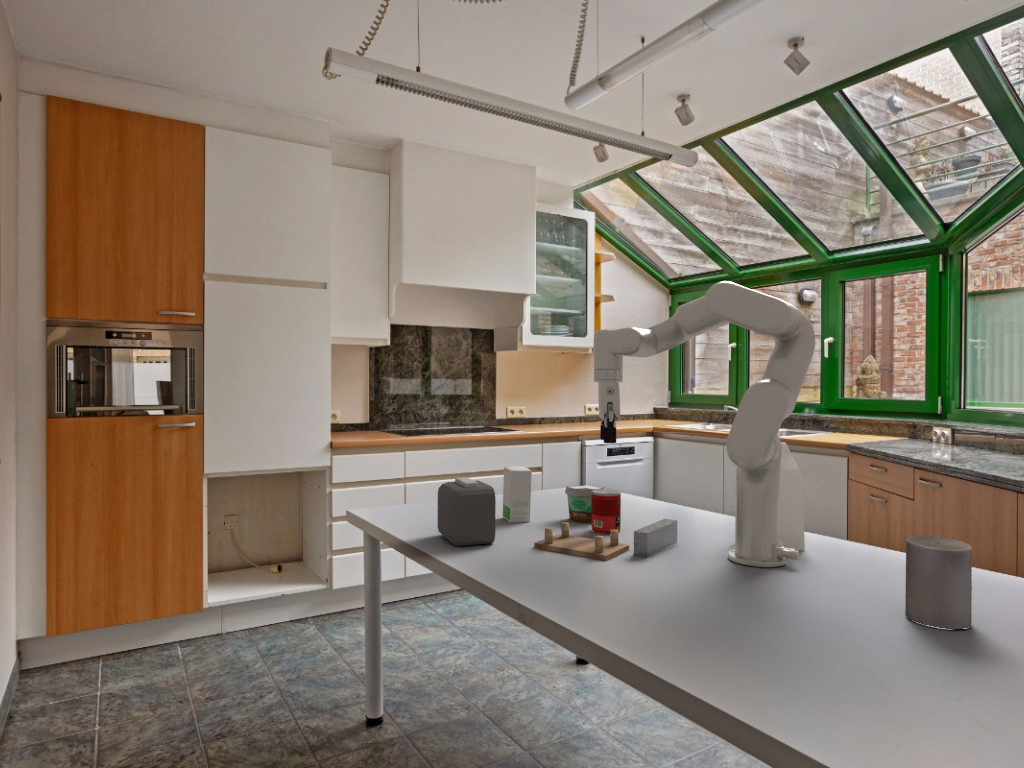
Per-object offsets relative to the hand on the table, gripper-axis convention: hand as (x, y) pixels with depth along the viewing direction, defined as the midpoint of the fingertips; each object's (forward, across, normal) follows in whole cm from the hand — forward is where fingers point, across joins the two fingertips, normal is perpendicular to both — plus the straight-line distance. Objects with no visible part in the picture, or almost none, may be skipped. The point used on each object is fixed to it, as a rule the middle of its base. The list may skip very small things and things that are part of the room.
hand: (608, 441), depth 172 cm
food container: (+26, +20, +5) cm, 33 cm away
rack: (+26, -11, +8) cm, 29 cm away
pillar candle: (+26, -56, -52) cm, 81 cm away
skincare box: (+26, +21, +25) cm, 42 cm away
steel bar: (+26, -10, -11) cm, 30 cm away
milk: (+26, -2, -42) cm, 49 cm away
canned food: (+26, +8, 0) cm, 27 cm away
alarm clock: (+26, -5, +38) cm, 46 cm away
